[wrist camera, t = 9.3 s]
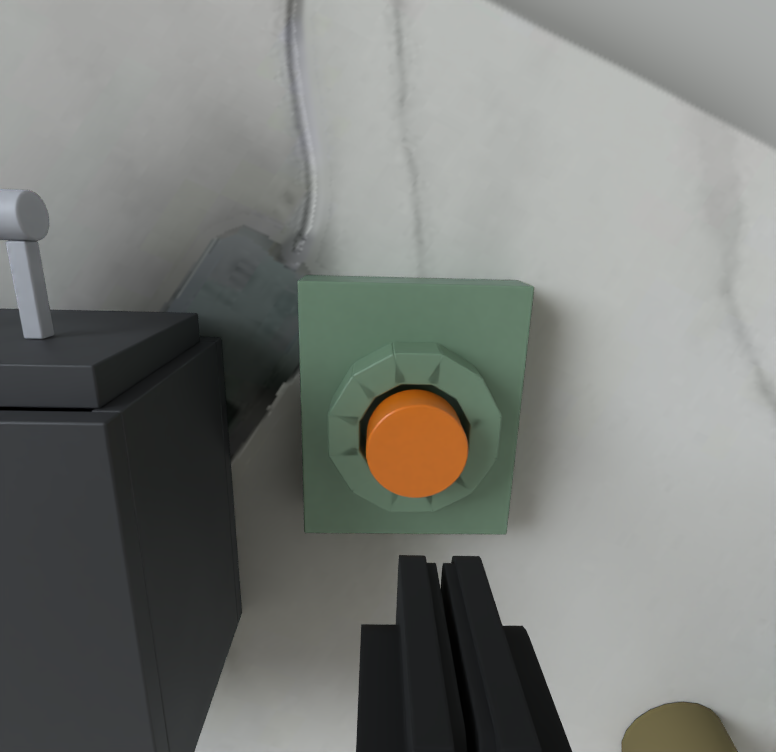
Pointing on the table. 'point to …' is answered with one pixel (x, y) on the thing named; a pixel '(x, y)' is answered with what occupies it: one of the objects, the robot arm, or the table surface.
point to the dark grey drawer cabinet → (118, 565)
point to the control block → (406, 372)
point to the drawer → (71, 331)
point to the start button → (415, 444)
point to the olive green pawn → (678, 730)
